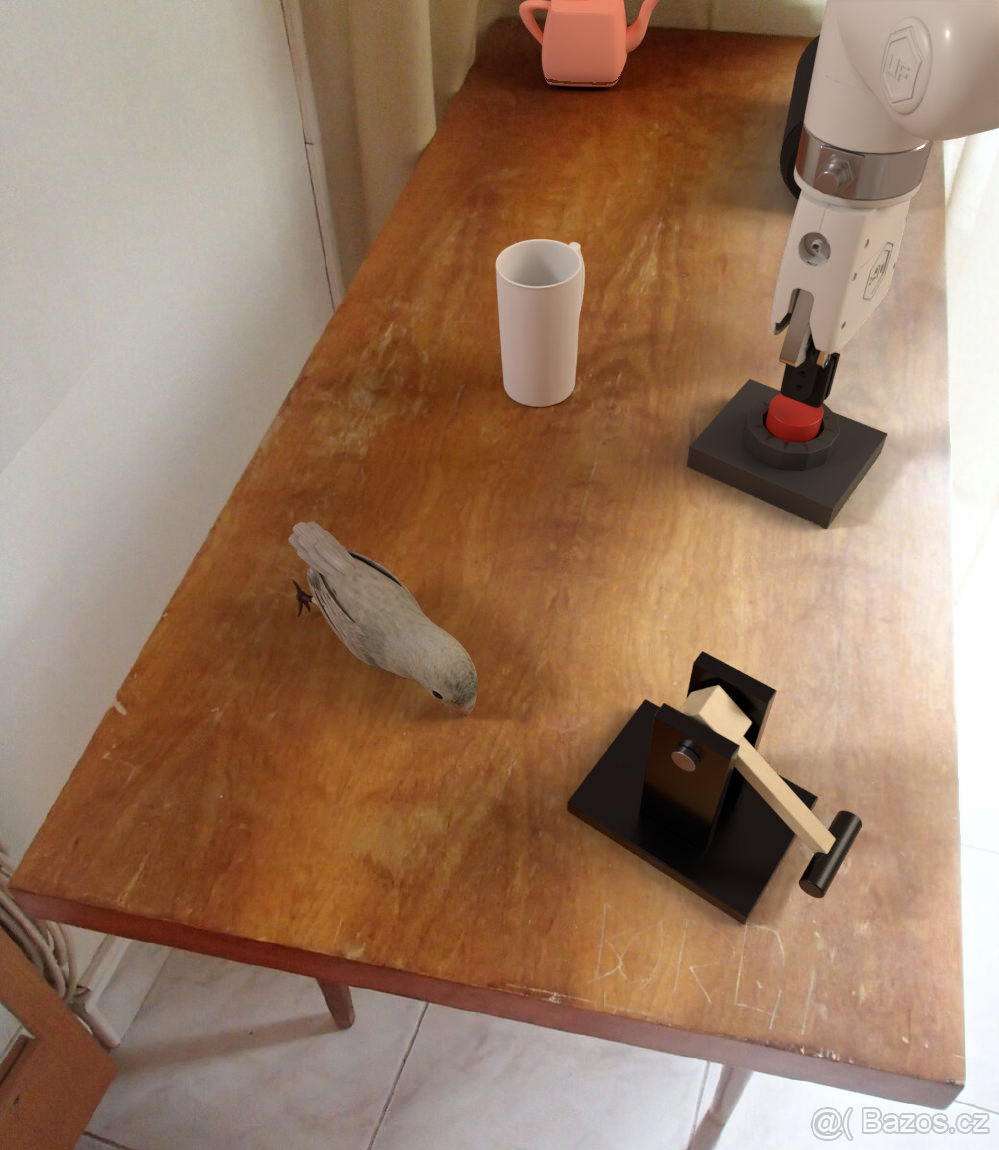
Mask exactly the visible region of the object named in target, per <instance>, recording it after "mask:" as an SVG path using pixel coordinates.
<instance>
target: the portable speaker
mask: <svg viewBox="0 0 999 1150" xmlns="http://www.w3.org/2000/svg"><path fill="white" fill-rule="evenodd" d="M819 38H820V34H818V35H817V36H815V37H814V38H813V39H812V40H811V41H810V42H809V44H807V46H806V47H805V48H804V50H803V52H802V54H801V56H800V57H799V59H798V62H797V65H796V69H795V75H794V79H793V80H794V81H793V85H792V90H791V96H790V101H789V106H788V110H787V117H786V122H785V127H784V132H783V138H782V142H781V148H780V154H779V170H780V174H781V178H782V180H783V182H784V183H783V184H784V185H785V186H786V188H787V189H788V190H789V191H790V193H791V194H792V196H793V197H794V198H795V199H796V200H797V201H798V200H799V197H800V193H801V190H802V189H801V188H800V187H799V186H798V185H797V183H796V181H795V179H794V169H795V165H796V159H797V154H798V148H799V143H800V138H801V132H802V127H803V122H804V118H805V112H806V106H807V101H808V96H809V90H810V85H811V80H812V74H813V69H814V64H815V58H816V53H817V48H818V43H819Z"/></svg>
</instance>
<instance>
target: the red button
mask: <svg viewBox="0 0 999 1150" xmlns="http://www.w3.org/2000/svg"><path fill="white" fill-rule="evenodd" d="M823 413H824V412H823V407H822V405H821V406H820V407H819V408H814V407H811V406H808V405H806V404H803V403H801V402H798V401H795V400H793V399H790V398H788V397H785V396H783V395H782V394H779V395H777V396H776V397H774V398H773V399H772V401H771V402H770V406H769V410H768V415H767V419H766V427H767V429H768V431H769V432H770V433H771V434H772V435H773V436H774V437H776V438H779V439H781V440H784V441H786V442H801V443H803V442H807V441H809V440H811V439H813V438H814V437H815V436H816V435H817V434H818V431H819V428H820V425H821V421H822V417H823Z"/></svg>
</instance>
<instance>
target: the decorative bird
mask: <svg viewBox="0 0 999 1150" xmlns="http://www.w3.org/2000/svg"><path fill="white" fill-rule="evenodd" d="M292 531H293V533H292V534H291V535H290V536H289V537H288V539H287V540H288V543H289V544H290V545H291V547H293V548H294V549H295V550H296V554H297V556H299V558H300V559H301V560H303V561H304V562H305V563H306V564H307V565H308V566H309V567H308V569H307V572H306V579H307V583H308V586H309V590H310V593H311V595H310V594H307V592H305V591H304V590H302V588H301V586H300V585H299V584H298V583H297V582H296V580H294V579H291V582H292V583H293V585H294V588H295V590H296V594H295V598H296V600H297V603H298V614H297V618H299V617H300V616H301V614H302V612H303V609H304V608H303V607H305V608H306V609H307V611H308V612H309V613H311V610H312V609H311V605H310V603H311V604H312V603H313V604H315V605H316V606H317V607H318V608H319V610H320V611H321V614H322V616H323V617H324V620H325V621H326V622H327V625H329V627H330V628H331V630H332V631H333V633H334V634H335V635H336V637H338V639H339V640H340V641H341V643H342V644H343V645H344V646H345V647H346V648H347V650H349V651H350V652H351V653H352V654H353V655H354V656H355V657H356V658H357V659H359V660H360V661H361V662H363V663H364V664H366V665H368V666H370V667H372V668H376V669H380V670H382V671H386V672H389V673H393V674H395V675H397V676H399V677H401V678H405V679H407V680H410V681H416V682H418V683H419V685H421V686H422V688H423V689H424V690H425V691H426V692H427V693H428V694H429V695H430V696H431V697H433V698H435V699H437V700H438V701H440V702H441V703H443V704H444V705H445V706H446V707H448V709H450V711H452V712H455V713H457V714H460V715H463V716H470V715H471V714H472V713H473V710H474V708H475V705H476V701H477V697H478V696H477V695H478V690H479V679H478V674H477V670H476V667H475V664H474V663H473V660H472V658H471V656H470V655H469V653H468V651H467V650H466V649H465V647H464V646H463V645H462V644H461V643H460V641H458V640H457V639H456V638H455V637H454V636H452V635H451V634H450V633H448V632H447V631H446V630H444V629H443V628H442V627H440V626H439V625H437V624H436V623H434V622H433V621H431V619H430V618H428V617H427V616H426V614H425V613H424V612H423V610H422V607H421V606H420V604H419V602H418V601H417V600H416V598H415V597H414V595H413V593H411V591H410V590H409V589H408V588H407V586H406V585H405V584H404V583H403V582H402V581H401V580H400V579H399V578H398V577H397V576H396V575H395V574H394V573H393V572H392V571H390V570H389V569H388V568H386V567H385V566H383V565H382V564H380V563H379V562H377V561H376V560H374V559H371V558H370V557H368V556H366V555H364V554H361V553H358V552H355V551H353V550H352V549H349V548H348V547H346V546H344V545H342V544H341V543H340V542H339V541H338V540H337V539H336V537H335V536H333V534H332V533H330V531H328V530H325V529H324V528H323V527H322V526H321V525H320V524H319V523H318V522H316V521H308V522H307V523H306V522H304V521H300V522H297V523H296V524H295V525H294V526H293V527H292Z"/></svg>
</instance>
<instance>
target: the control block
mask: <svg viewBox="0 0 999 1150" xmlns="http://www.w3.org/2000/svg"><path fill="white" fill-rule="evenodd" d="M779 394H781V392H780V390H779V389H777V388H774V387H771V386H769V385H767V384H764V383H761V382H759V381H756V380H754V379H751V378H748V380H747V381H746V382H745V383H744V384H743V385H742V387H740V389H739V390H738V391H737V392H736V393H735V394H734V396H733V397H731V398H730V400H729V401H728V402H727V403H726V405H724V407H723V408H722V409H721V410H720V412H718V414H716V416H715V417H714V418H713V419H712V420H711V421H710V422H709V424H708V425H707V426H706V427H705V428H704V429H703V430H702V432H700V433H699V435H698V436H697V437H696V438H695V439H694V440H693V441H692V443H691V444H690V445H689V448H688V453H687V461H686V467H687V468H690V469H692V470H694V471H697V472H699V473H700V474H703V475H705V476H708V477H710V478H712V479H714V480H717V481H718V482H721V483H723V484H726V485H728V486H730V487H732V488H734V489H736V490H739V491H741V492H743V493H745V494H748V495H749V496H752V497H754V498H756V499H759V500H761V501H763V502H766V503H768V504H770V505H772V506H775V507H777V508H779V509H780V510H784V511H786V512H788V513H790V514H792V515H794V516H797V517H799V518H801V519H803V520H805V521H808V522H811V523H812V524H815V525H817V526H820V527H822V528H823V529H825V530H828V528H829V527H830V526H831V525H832V523H833V522H834V520H835V519H836V518H837V516H838V514H839V513H840V512H841V510H842V508H843V507H844V506H845V505H846V503H847V502H848V500H849V499H850V497H852V495H853V493H854V492H855V491H856V490H857V488H858V486H859V485H860V484H861V482H862V481H863V480H864V478H865V476H866V475H867V474H868V472H869V471H870V469H871V468H872V467H873V465H874V464H875V462H876V461H877V460H878V458H879V457H880V455H881V453H882V451H883V448H884V446H885V442H886V439H887V437H888V433H887V432H885V431H882V430H880V429H877V428H875V427H872V426H870V425H867V424H866V423H865V424H864V423H863V422H860V421H857V420H854V419H852V418H850V417H847V416H844V415H843V414H839V413H837V412H835V411H833V410H832V409H831V408H830V407H829V406H828V405H827V404H826V403H825V402H823V404H822V407H823V412H824V413H823V417H822V421H821V425H820V428H819V431H818V434H817V435H816V436H815V437H814V438H813V439H811V440H809V441H807V442H803V443H801V442H786V441H784V440H781V439H779V438H776V437H774V436H773V435H772V434H771V433H770V432H769V431H768V429H767V427H766V419H767V415H768V410H769V406H770V402H771V401H772V399H773V398H774V397H776V396H777V395H779Z"/></svg>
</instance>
